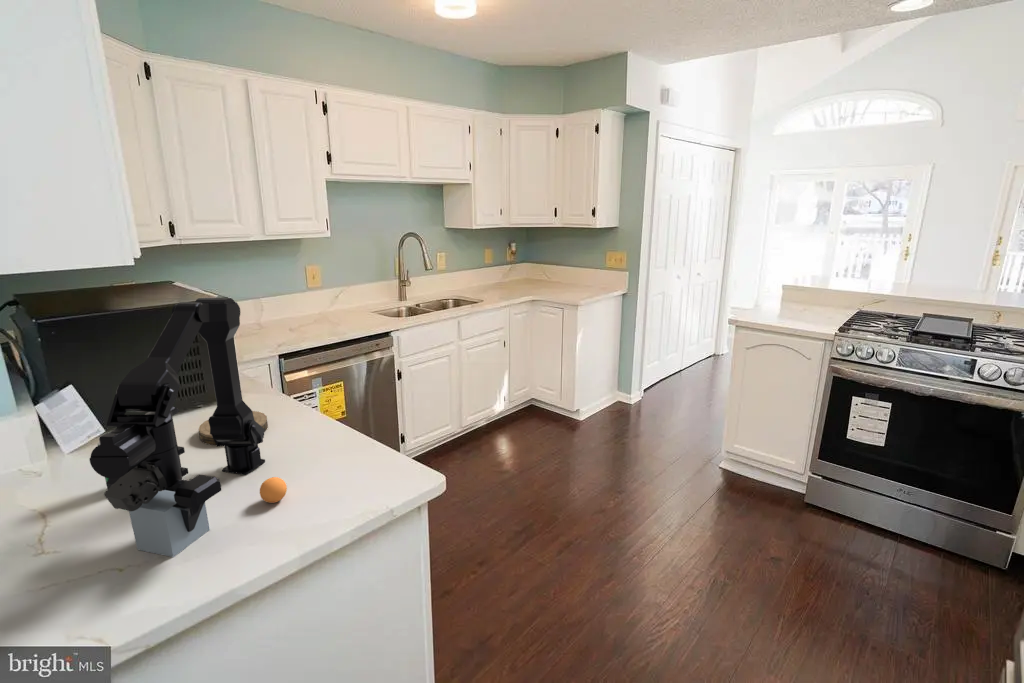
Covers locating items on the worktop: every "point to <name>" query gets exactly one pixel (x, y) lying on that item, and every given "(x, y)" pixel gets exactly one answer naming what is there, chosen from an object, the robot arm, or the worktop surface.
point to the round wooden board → (207, 438)
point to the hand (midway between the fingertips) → (172, 526)
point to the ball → (273, 489)
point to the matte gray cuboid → (165, 526)
